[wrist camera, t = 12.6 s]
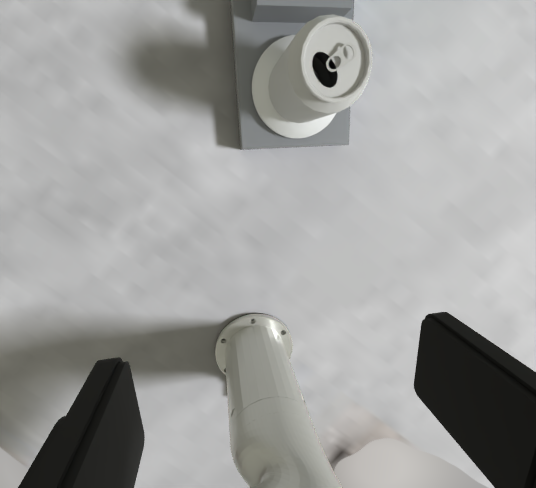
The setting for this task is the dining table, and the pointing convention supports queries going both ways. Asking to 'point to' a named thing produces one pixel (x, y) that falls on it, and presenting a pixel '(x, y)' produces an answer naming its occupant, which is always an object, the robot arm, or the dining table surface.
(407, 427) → the dining table surface
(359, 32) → the can
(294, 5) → the scale
